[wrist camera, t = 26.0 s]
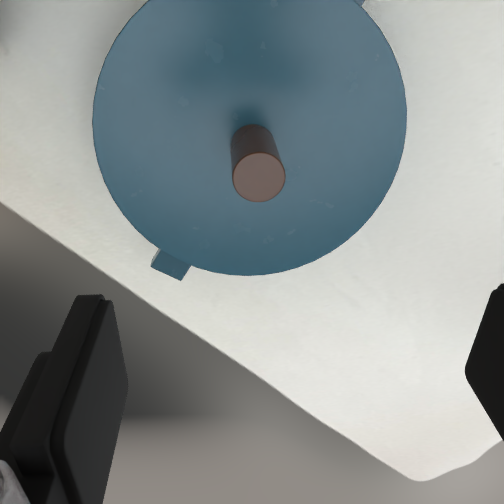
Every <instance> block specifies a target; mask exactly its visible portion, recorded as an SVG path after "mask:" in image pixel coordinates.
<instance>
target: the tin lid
mask: <svg viewBox="0 0 504 504" xmlns="http://www.w3.org/2000/svg"><path fill="white" fill-rule="evenodd" d="M406 122H407V107H406V98H405V89H404V85H403V81H402V77H401V73H400V69H399V66H398V64H397V61H396V59H395V56H394V54H393V51H392V49H391V47H390V45H389V43H388V42H387V40H386V38H385V37H384V35H383V33H382V32H381V30H380V28H379V27H378V26H377V25H376V23H375V22H374V21H373V20H372V18H371V17H370V16H369V15H368V13H367V12H366V11H365V10H364V9H363V8H362V7H361V6H360V5H359V4H357V3H356V2H355V1H354V0H148V1H147V2H146V3H145V4H144V5H143V6H142V7H141V8H140V9H139V10H138V11H137V12H136V13H135V14H134V15H133V16H132V17H131V18H130V20H129V21H128V22H127V24H126V25H125V26H124V28H123V29H122V31H121V32H120V33H119V35H118V36H117V37H116V39H115V41H114V43H113V45H112V47H111V49H110V51H109V52H108V54H107V56H106V58H105V61H104V64H103V67H102V70H101V72H100V75H99V78H98V82H97V87H96V92H95V97H94V103H93V119H92V125H93V139H94V146H95V151H96V156H97V161H98V165H99V167H100V170H101V173H102V176H103V179H104V182H105V184H106V186H107V188H108V190H109V192H110V194H111V196H112V198H113V200H114V201H115V203H116V204H117V206H118V207H119V209H120V210H121V212H122V213H123V215H124V216H125V217H126V218H127V219H128V221H129V222H130V223H131V224H132V225H133V226H134V228H135V229H136V230H137V231H138V232H140V233H141V234H142V235H143V236H144V237H145V238H146V239H147V240H148V241H149V242H151V243H152V244H154V245H155V246H156V247H158V248H159V249H161V250H162V251H163V252H165V253H167V254H169V255H171V256H172V257H174V258H176V259H178V260H180V261H182V262H184V263H187V264H189V265H192V266H194V267H197V268H200V269H204V270H207V271H211V272H216V273H222V274H228V275H242V276H252V275H266V274H272V273H279V272H283V271H287V270H290V269H294V268H298V267H300V266H303V265H305V264H308V263H310V262H313V261H315V260H317V259H319V258H321V257H322V256H324V255H326V254H328V253H330V252H331V251H333V250H334V249H336V248H337V247H339V246H340V245H342V244H343V243H344V242H346V241H347V240H348V239H349V238H350V237H351V236H353V235H354V234H355V233H356V232H357V231H358V230H359V229H360V228H361V227H362V226H363V225H364V224H365V223H366V222H367V221H368V219H369V218H370V217H371V216H372V215H373V213H374V212H375V210H376V209H377V208H378V206H379V205H380V204H381V202H382V200H383V199H384V197H385V195H386V193H387V192H388V190H389V188H390V186H391V184H392V182H393V179H394V177H395V174H396V172H397V170H398V167H399V163H400V160H401V156H402V153H403V149H404V142H405V135H406Z"/></svg>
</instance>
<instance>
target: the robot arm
mask: <svg viewBox="0 0 504 504" xmlns="http://www.w3.org/2000/svg"><path fill="white" fill-rule="evenodd" d="M465 375H466V379H467V381H468V383H469V384H470V386H471V388H472V389H473V391H474V393H475V394H476V396H477V398H478V399H479V401H480V403H481V404H482V406H483V408H484V409H485V411H486V413H487V414H488V416H489V418H490V419H491V421H492V423H493V424H494V426H495V428H496V429H497V431H498V432H499V434H500V436H501V437H502V439H503V441H504V283H503V284H501V285H500V286H498V288H497V289H495V290H493V291H492V293H491V295H490V298H489V301H488V304H487V306H486V309H485V312H484V315H483V318H482V321H481V323H480V326H479V329H478V332H477V335H476V337H475V340H474V343H473V346H472V349H471V352H470V354H469V357H468V360H467V363H466V366H465ZM127 392H128V378H127V373H126V368H125V363H124V358H123V353H122V348H121V342H120V337H119V332H118V328H117V322H116V317H115V312H114V306H113V302H112V301H111V300H105V298H104V296H103V295H101V294H100V295H78V296H77V297H76V298H75V300H74V302H73V305H72V307H71V309H70V312H69V314H68V316H67V318H66V320H65V322H64V325H63V327H62V329H61V331H60V334H59V336H58V338H57V340H56V342H55V345H54V347H53V349H52V351H51V352H41V353H40V354H39V355H38V356H37V358H36V359H35V361H34V363H33V365H32V367H31V370H30V372H29V374H28V376H27V378H26V380H25V382H24V384H23V386H22V389H21V390H20V392H19V394H18V397H17V399H16V401H15V403H14V405H13V407H12V409H11V411H10V413H9V415H8V417H7V419H6V421H5V423H4V425H3V428H2V430H1V432H0V504H102V503H103V499H104V494H105V490H106V486H107V481H108V476H109V472H110V468H111V464H112V459H113V455H114V450H115V446H116V441H117V437H118V432H119V428H120V423H121V419H122V415H123V410H124V406H125V402H126V397H127Z"/></svg>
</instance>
